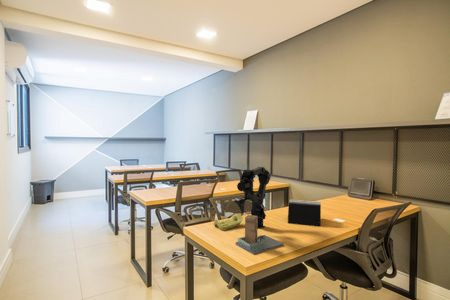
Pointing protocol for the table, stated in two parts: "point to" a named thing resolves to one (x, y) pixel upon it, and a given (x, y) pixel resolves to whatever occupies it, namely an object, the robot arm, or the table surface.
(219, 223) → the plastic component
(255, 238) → the tall wooden pillar
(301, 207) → the device stand
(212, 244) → the table surface
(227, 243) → the table surface
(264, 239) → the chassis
